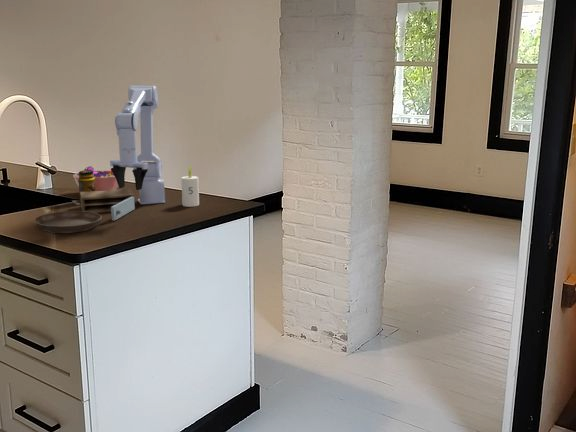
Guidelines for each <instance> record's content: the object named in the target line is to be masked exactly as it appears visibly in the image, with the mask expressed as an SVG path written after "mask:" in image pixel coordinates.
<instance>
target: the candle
mask: <svg viewBox="0 0 576 432" xmlns="http://www.w3.org/2000/svg"><path fill="white" fill-rule="evenodd" d="M180 180H181V195H182V196H181V201H182V202H181V203H182V206H183V207H189V208H191V207H197V206H200V190H199V187H200V186H199V182H200V181H199V177H198V176H196V175H193V171H192V167H191V165H190V164H189V165H188V175H187V176H182V177H181V179H180Z"/></svg>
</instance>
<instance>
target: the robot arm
mask: <svg viewBox="0 0 576 432" xmlns="http://www.w3.org/2000/svg"><path fill="white" fill-rule="evenodd" d="M127 96H128V100H127V102H126V103H125V104H124V105H123V108H122V109H121V111H120V112H118V113H117V114H115V116H114V117H115V118H114V126H115V130H116V135H117V137H118V150H119V151H118V153H119V159H112V160H109V162H110V163H109V165H110V167H111V168H110V171H112V172H113V174H114V176H115V178H116V180H117V183H118V186H119V187H118V188H119V189H122V188H125V184H126V183H125V181H126V180H125V177H126V175H125V174H126V170H127V168H130V169H131V168H132V170H131V171H132V174H133V177H134V184H135V190H136V191H138V192H139V198H138V199H137V202H138V203H139V204H140V205H151V204H163V203H166V192H165V191H166V190H165V189H166V188H165V181H164V179H163V178H161V177H162V174H163V167H162V159H161V158H160V157H159V156H158V155H157V154H156V153H154V110H156V109H157V108H158V107H159V92H158V87H157V86H156V85H131V84H130V85H129V87H128V90H127ZM139 116H140V117H139ZM139 118H140V122H139ZM139 123H140V127H139V128H140V154H138V149H137V129H138V125H139Z"/></svg>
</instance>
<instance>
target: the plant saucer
mask: <svg viewBox="0 0 576 432" xmlns="http://www.w3.org/2000/svg"><path fill="white" fill-rule="evenodd" d="M102 217H103V215H101V214H100V213H98V212H97V213H94V212H87V211H82V210H67V211H59V212H58V211H56V212H50V213H45V214H42V215H39V216H37V217H36V218H35V219H34V223H35V224H36V225H37V226H38V228H40V229H42V230H43V231H44V232H47V233H53V234H71V233H72V234H73V233H79V232H85V231H88V230H91V229H93V228H94V227H96V226H98V225H99V223H100V221H101V220H102Z"/></svg>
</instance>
